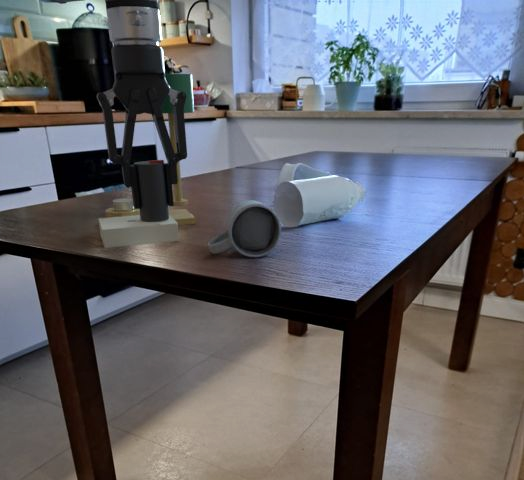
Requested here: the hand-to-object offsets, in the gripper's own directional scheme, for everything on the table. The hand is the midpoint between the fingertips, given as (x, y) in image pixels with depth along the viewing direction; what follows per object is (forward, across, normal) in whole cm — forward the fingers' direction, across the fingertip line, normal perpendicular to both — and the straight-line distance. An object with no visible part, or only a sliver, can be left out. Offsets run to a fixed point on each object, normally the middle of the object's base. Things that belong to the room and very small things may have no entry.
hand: (153, 205), depth 86 cm
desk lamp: (+2, +7, +12) cm, 13 cm away
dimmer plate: (+5, -3, 0) cm, 6 cm away
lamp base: (+5, +1, +12) cm, 13 cm away
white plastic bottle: (+5, +31, +1) cm, 31 cm away
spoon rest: (+5, +41, +33) cm, 53 cm away
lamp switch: (+3, -4, +11) cm, 12 cm away
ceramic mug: (+5, +11, -15) cm, 19 cm away
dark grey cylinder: (+2, 0, 0) cm, 2 cm away
